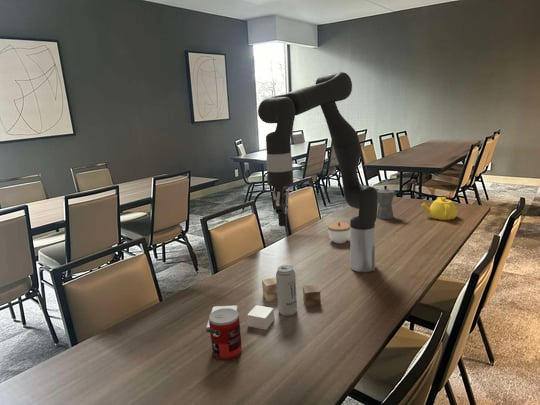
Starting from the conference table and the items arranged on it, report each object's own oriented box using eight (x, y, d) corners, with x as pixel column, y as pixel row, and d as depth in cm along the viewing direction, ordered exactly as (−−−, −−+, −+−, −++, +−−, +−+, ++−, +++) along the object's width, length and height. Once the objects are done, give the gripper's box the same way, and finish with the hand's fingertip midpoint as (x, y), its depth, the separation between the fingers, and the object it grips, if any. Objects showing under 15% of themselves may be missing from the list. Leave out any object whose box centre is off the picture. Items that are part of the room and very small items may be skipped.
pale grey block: (274, 319, 118) (273, 308, 117) (266, 330, 113) (265, 318, 112) (257, 316, 120) (256, 305, 119) (248, 326, 115) (247, 314, 114)
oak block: (276, 292, 135) (275, 277, 133) (281, 299, 130) (280, 283, 128) (263, 295, 133) (261, 279, 132) (267, 302, 128) (266, 286, 127)
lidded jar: (325, 244, 178) (325, 225, 176) (330, 236, 188) (330, 218, 185) (348, 246, 174) (348, 226, 172) (352, 238, 184) (352, 219, 181)
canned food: (213, 344, 107) (209, 309, 104) (241, 341, 107) (238, 306, 105) (211, 362, 99) (207, 324, 97) (242, 358, 100) (238, 321, 97)
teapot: (416, 212, 219) (417, 194, 216) (450, 212, 216) (451, 193, 213) (425, 223, 199) (426, 202, 197) (462, 222, 197) (464, 201, 194)
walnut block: (318, 298, 129) (317, 284, 128) (320, 305, 124) (320, 291, 123) (303, 299, 129) (302, 285, 128) (305, 306, 124) (304, 292, 123)
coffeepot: (400, 216, 212) (400, 185, 208) (391, 221, 206) (392, 188, 202) (375, 212, 223) (375, 182, 219) (366, 216, 217) (366, 185, 213)
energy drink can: (291, 318, 117) (289, 273, 114) (274, 314, 121) (271, 270, 117) (300, 309, 122) (298, 266, 119) (284, 305, 125) (281, 263, 122)
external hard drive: (206, 332, 114) (213, 310, 126) (233, 330, 114) (237, 309, 126) (206, 327, 114) (212, 306, 126) (233, 325, 114) (237, 304, 126)
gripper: (288, 172, 103) (291, 232, 107) (295, 164, 116) (298, 219, 120) (262, 173, 105) (266, 232, 109) (271, 165, 117) (275, 219, 122)
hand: (282, 225), depth 114 cm, fingers closed
